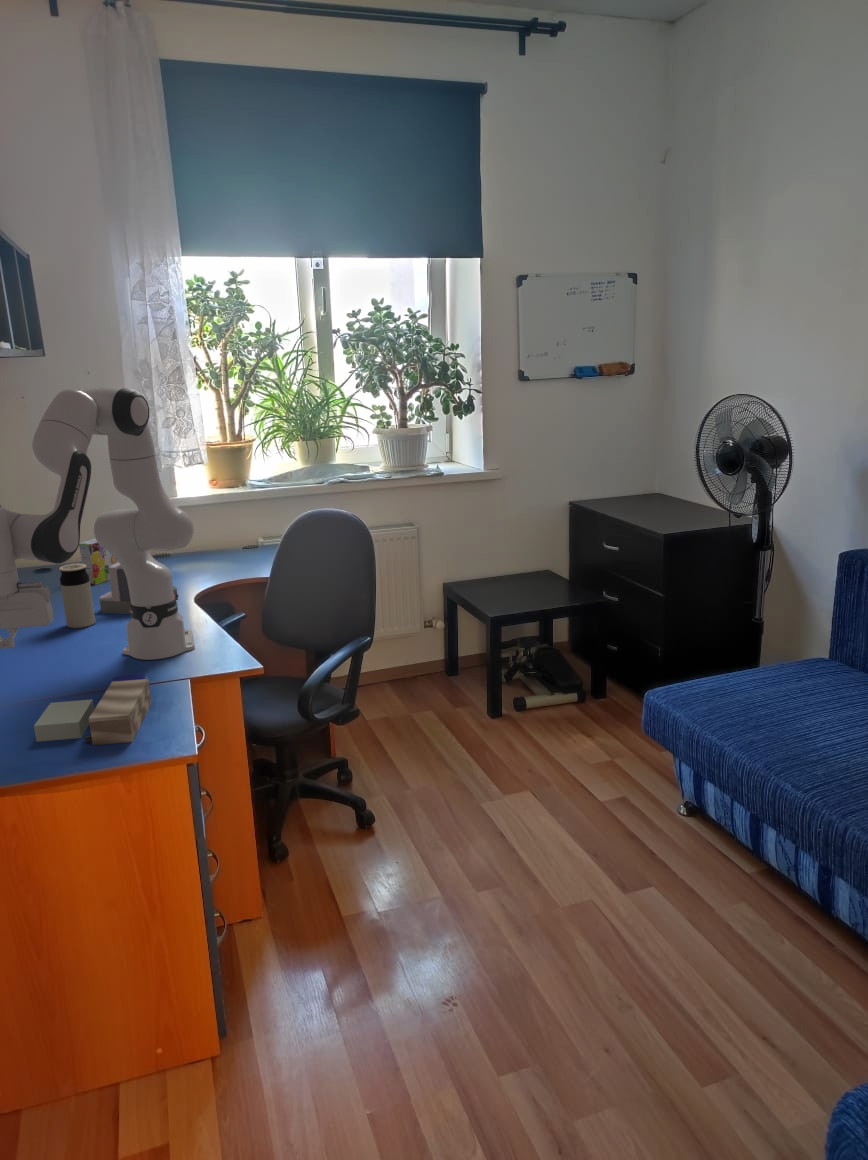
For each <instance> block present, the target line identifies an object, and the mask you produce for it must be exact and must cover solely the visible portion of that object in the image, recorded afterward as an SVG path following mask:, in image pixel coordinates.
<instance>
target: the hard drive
mask: <svg viewBox="0 0 868 1160" xmlns="http://www.w3.org/2000/svg"><path fill="white" fill-rule="evenodd" d="M146 676H147V673H135V674H127V675H118V676H112V677H111V679H110V683H109V686H110V684H111V683H112V682H114V681H127V680H141V679H147V677H146ZM109 686H108V688H109ZM108 688H107V689H108Z"/></svg>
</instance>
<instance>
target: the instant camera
mask: <svg viewBox="0 0 868 1160" xmlns="http://www.w3.org/2000/svg"><path fill="white" fill-rule="evenodd" d="M109 577H110V580H109V583H110V591H108V592H106V593H105V594H103V595H100V596H99V606H100V613H103V614H104V613H105V614H106V613H107V614H130V609H129V608H130V603H131V600H130V593H129V588H128V583H127V578H126V575H125V572H124V570H123V568H122V566H121V565H120V563H119V562H118V563H116V564H114V565H112V566H110V567H109ZM173 592H174V594H175V598H176V600H177V599H178V598H179V593H178V588H177V587H176V586H174V585H173Z"/></svg>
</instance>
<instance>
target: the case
mask: <svg viewBox="0 0 868 1160" xmlns="http://www.w3.org/2000/svg"><path fill="white" fill-rule="evenodd" d="M94 709H95V706H94V699H80V700H70V701H69V700H68V701H55V702H50V703H49V705H48V706H47V707H46V708H45V710H44V711H43V712H42V714H41V715H40V717H39V718H38V720H37V721H36V722H35V724H34V725H33V729H34V735H35V741H36V743H39V742H47V741H48V742H49V741H59V740H62V741H63V740H70V739H71V740H73V739H81V738H82V737H83V736H84V734H85V733H86V731H87V729H88V728H89V727H90V724H89V717H90V716H91V714H92V712H93V711H94Z"/></svg>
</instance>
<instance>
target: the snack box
mask: <svg viewBox="0 0 868 1160" xmlns="http://www.w3.org/2000/svg"><path fill="white" fill-rule="evenodd" d="M78 549H79V553H80V558H81V559H80V560H81V564H85V565H86V572H87V574H88V575H89V580H90V585H92V586H97V585H99V584H102V583H105V582H106V583H107V582H110V577H109V567H110V566H112V565H114V564H116V563H118V561H117V559H116V558H115V557H114V556H113V555H112V554H111V553H110V552H109V551H107V550H106V549H105V548H103V547H101V546H100V545H99V543H98V542H97V540H96V538H93V539H90V540H87V541H83V542H79V546H78Z"/></svg>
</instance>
